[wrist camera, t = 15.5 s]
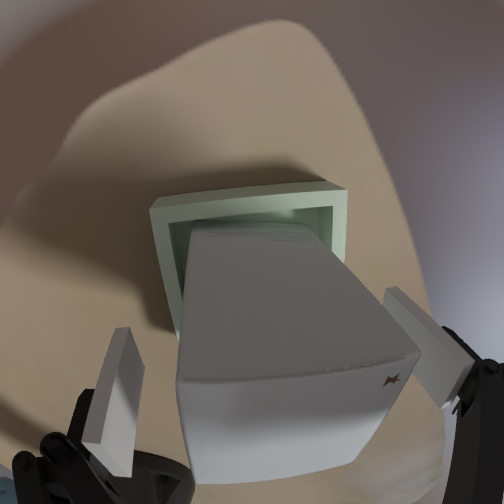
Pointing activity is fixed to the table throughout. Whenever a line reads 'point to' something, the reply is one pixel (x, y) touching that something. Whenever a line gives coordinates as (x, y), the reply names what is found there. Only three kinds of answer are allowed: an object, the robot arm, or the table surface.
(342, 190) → the trough tray
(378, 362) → the supplement box
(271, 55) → the table surface
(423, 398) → the table surface
